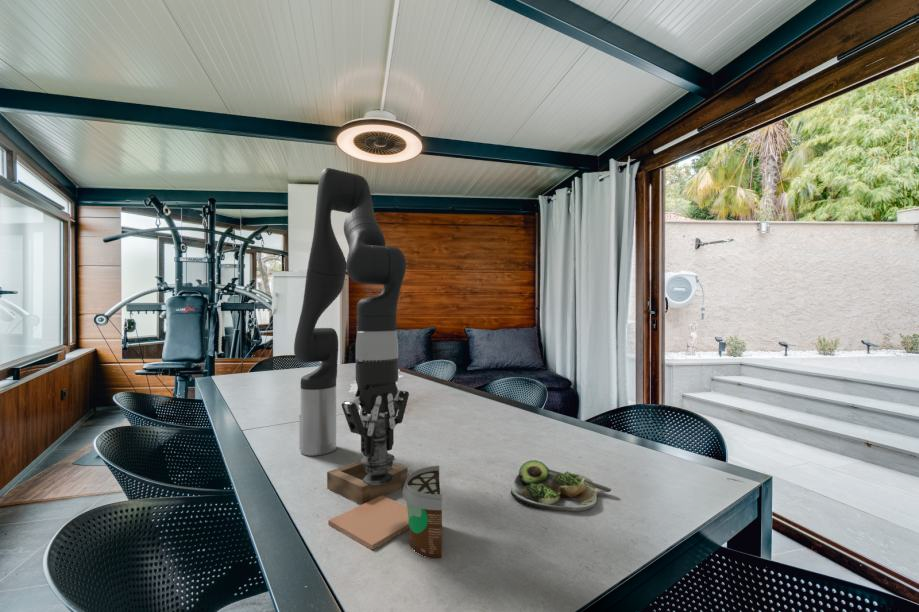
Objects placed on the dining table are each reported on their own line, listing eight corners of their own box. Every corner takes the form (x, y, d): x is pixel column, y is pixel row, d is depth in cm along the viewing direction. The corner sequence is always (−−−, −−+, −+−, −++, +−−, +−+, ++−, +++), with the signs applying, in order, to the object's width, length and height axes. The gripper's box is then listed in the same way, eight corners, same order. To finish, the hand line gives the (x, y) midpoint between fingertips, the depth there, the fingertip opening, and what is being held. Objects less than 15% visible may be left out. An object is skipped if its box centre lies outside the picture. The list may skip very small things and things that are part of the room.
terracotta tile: (328, 524, 69) (328, 520, 69) (381, 499, 78) (381, 495, 78) (372, 550, 61) (372, 545, 61) (425, 518, 71) (425, 514, 71)
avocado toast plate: (609, 482, 86) (609, 460, 86) (614, 523, 69) (613, 497, 69) (521, 471, 92) (521, 452, 92) (506, 507, 75) (505, 483, 76)
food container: (404, 522, 70) (404, 465, 70) (439, 520, 70) (439, 464, 70) (400, 567, 57) (399, 498, 57) (442, 564, 58) (441, 496, 58)
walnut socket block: (327, 488, 83) (327, 471, 83) (372, 470, 93) (372, 455, 93) (362, 505, 76) (362, 487, 76) (407, 484, 85) (407, 468, 85)
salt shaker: (387, 487, 67) (386, 415, 67) (355, 484, 68) (354, 414, 68) (399, 473, 72) (399, 407, 73) (369, 471, 73) (369, 406, 74)
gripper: (393, 352, 78) (393, 438, 78) (330, 358, 67) (330, 459, 67) (419, 354, 74) (420, 446, 73) (357, 361, 63) (357, 470, 62)
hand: (377, 452), depth 70 cm, fingers closed on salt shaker, 3 cm apart
